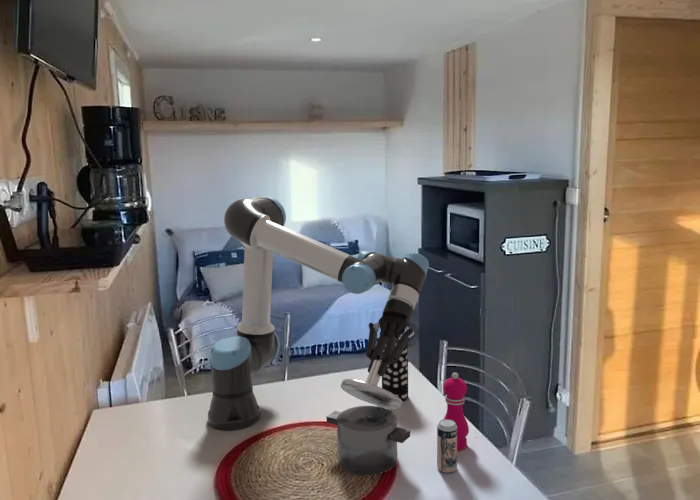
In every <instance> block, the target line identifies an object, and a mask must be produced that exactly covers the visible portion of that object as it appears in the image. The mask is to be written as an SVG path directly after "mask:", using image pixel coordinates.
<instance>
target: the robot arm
mask: <svg viewBox="0 0 700 500" xmlns="http://www.w3.org/2000/svg"><path fill="white" fill-rule="evenodd" d="M286 219H287V215H286V211H285V208H284V207H283V205H282V204H281V202H280V201H279V200H277V199H276V198H275V197H272V196H268V195H267V196H265V195H262V196H260V195H258V196H254V197H250V198H241V199H237V200H235V201H234V202H232V203H231V204H230V205H229V206H227V209H226V210H225V213H224V220H223V222H224V227H225V229H226V231H227V233H228V234H229V235H230V236H231V237H232V238H233V239H235V240H236V241H238V242H240V244H242V245H243V246H244V247H243V248H244V257H243V259H244V260H243V261H244V262H243V287H242V312H241V316H242V318H241V319H242V320H241V322H240V323H239V324H238V325H237V327H236V336H228V337H226V338H221V339H219V340H217V341H216V342H214V343H213V345H211V348H210V351H209V355H210V356H209V364H210V377H211V391H212V398H211V400H210V405H209V410H208V412H207V423H208V424H209V426H210V427H212V428H214V429H217V430H223V431H234V430H240V429H241V430H242V429H245V428H248V427H250V426H253V425H254V424H255V423H257V422H258V421H259V419H260V418H261V408H260V406H259V404H258V402H257V398H256V396H255V393H254V390H253V389H254V387H253V384H254V383H253V376H254V374H256V373H257V372H259V371H261V370H262V369H264V368H265V367H267V366H268V365H270V364H271V363H273V361H274V360H275V359H276V357H277V356H278V354H279V353H280V347H281V344H280V339H279V335H277V332H276V331H275V330H276V329H275V325H273V324H272V322H271V308H272V284H273V263H274V260H273V258H274V256H273V255H274V254H276V255H278V256H280V257H283V258H285V259H287V260H290V261H292V262H293V263H296V264H299V265H301V266H303V267H305V268H307V269H310V270H313V271H315V272H317V273H319V274H321V275H324V276H326V277H328V278H330V279H333V280H334V281H337V282H340V283H341V284H342V285H343V287H344V288H345V289H346V290H347V291H348V292H349V293H350V294H355V295H361V294H363V293H365V292H368V291H370V290H371V289H372V288H373V287H374V286H376V285H377V284H379V283H384V284H387V285H388V284H389V285H392V288H391V290H390V292H389V294H388V298H387V301H386V303H385V305H384V307H383V311H382V316H381V317H380V318H379V319H378V322H375V323H373V322H369V323H368V329H369V334H368V339H367V346H366V352H365V356H366V357H367V358H368V359H369V360H370V363H369V365H368V368H367V373H368V375H367V379H366V381H365V382H367V383H370V384H373V385H375V386H378V384H379V381H380V378H382V377H383V376H384V373H385V371H386V368H387V366H388V365H389V364H393V365H394V364H396V362H397V361H398V359H399V357H400V356H401V354H402V352H403V351H404V349H405V347H406V346H407V344H408V345H409V342H410V341H411V340H412V339H414V337H415V336H416V333H415V331H414V330H413V329H412V328H411V327H410V322H411V319H412V318H413V314H414V310H415V308H416V304H417V302H418V299H419V297H420V294H421V291H422V289H423V286H424V283H425V281H426V279H427V273H428V270H429V266H430V263H429V259H428V258H426V257H425V256H424V255H422V254H420V253H418V252H407V253H406V254H405V255H404V256H403V257H402V258H400V257H399V258H398V257H394V256H390V255H385V254H382V253H377V252H375V251H367V250H363V251H359V254H358V255H357V256H356V257H355V256H352V255H350V254H348V253H346V252H344V251H341V250H339V249H336V248H335V247H331V246H330V245H327V244H326V243H322V242H320V241H318V240H316V239H313V238H311V237H309V236H307V235H304V234H301V233H300V232H298V231H294V230H292V229H290V228H289V227H286V226H285V225H286ZM379 329H380V332H379ZM378 332H379V337H378ZM402 334H403V335H402ZM400 335H402V336H401V338H400V340H399V341H398V339H399V336H400ZM396 342H398V343H397V344H396ZM386 343H387V344H386ZM385 345H386V347H385ZM395 345H396V346H395ZM384 348H385V350H384ZM383 351H384V353H383ZM382 353H383V356H382ZM381 356H382V358H381Z"/></svg>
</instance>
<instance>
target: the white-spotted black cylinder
mask: <svg viewBox="0 0 700 500" xmlns="http://www.w3.org/2000/svg"><path fill="white" fill-rule="evenodd" d="M403 334H404V333H403ZM403 334H402V335H403ZM402 335H400V336H399V339H398V341H399V340H400V338H401V336H402ZM397 343H398V342H396V344H397ZM386 344H387V343H386ZM395 346H396V345H395ZM385 347H386V345H385ZM384 350H385V348H384ZM383 353H384V351H383ZM383 353H382V356H383ZM382 356H381V358H382ZM381 388H383V389H385V390H387V391H389V392H391V393H393V394H394V395H396V396H397V397H399V398H400V399H401V400H402V403H403V402H406V401H407V400H408V399H409V343H408V344H407V346H406V347H405V349H404V351H403V352H402V354H401V356H400V357H399V359H398V361H397V362H396V364H394V365H393V364H389V365H388V366H387V368H386V371H385V373H384V376H383V377H382V376H381Z"/></svg>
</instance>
